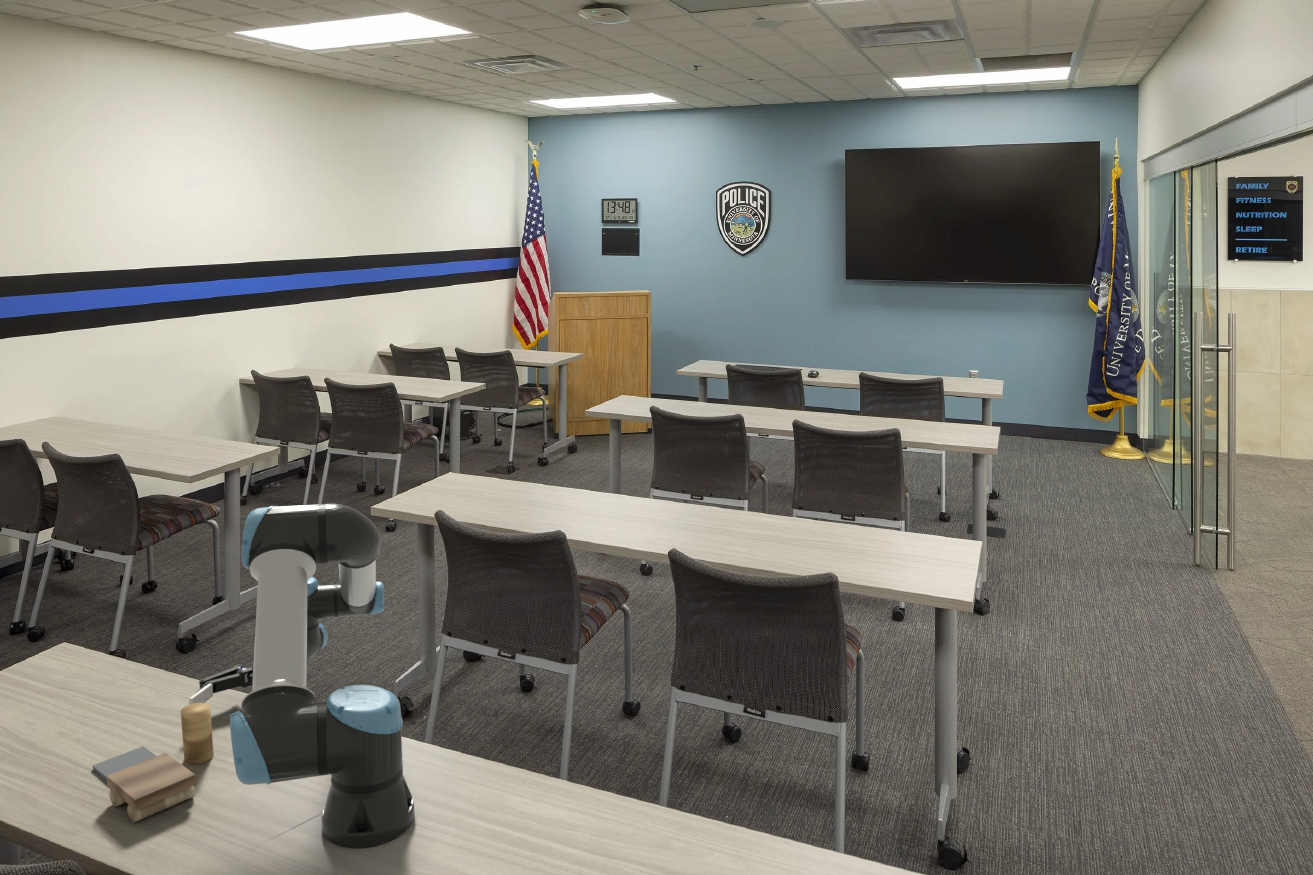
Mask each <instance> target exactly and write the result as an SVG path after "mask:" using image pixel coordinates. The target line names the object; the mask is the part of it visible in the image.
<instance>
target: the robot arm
mask: <svg viewBox="0 0 1313 875" xmlns="http://www.w3.org/2000/svg"><path fill="white" fill-rule="evenodd" d="M243 526H244V527H243V531H242V532H243V533H242V545H241V562H242V565H243V567H244V568H245V569H248V570H249V572H250V575H251V577H252V578H254V579H255V581H257V594H256V595H257V596H256V613H255V616H256V617H255V632H254V634H255V635H254V650H253V651H254V652H253V665H252V666H249V667H248V668H247V667H246V668H245V667H244V666H243V663H238V664H236V665H234V666H232V667H231V668H228V669H226V670H225V669H224V670H223V671H220V672H217V673H215V674H213V675H212V674H211V675H210V676H206V677H203V678H202V679H199V681H198V684H199V689H197V690H196V691H195V693H194V694H193V695H191V696H190V697H189V698H188V701H189V702H188V705H190V704H194V703H207V702H208V701H209V700H210V699H211V698H212V697H214V694H216V693H220V692H224V691H228V690H231V689H234V688H239V687H242V688H246V687H250V686H252V687H251V688H252V689H251V691H250V692H249V693H247V694H246V695H245V696H244V698H242V701H241V710H237V711H235V712H233V713H231V714H230V716H229V717H230V719H229V728H230V729H229V730H230V739H231V740H230V742H231V747H232V748H231V749H232V756H233V763H234V768H235V769H234V770H235V773H236V777H237V780H238V781H239V782H241V784H243V785H246V786H251V785H252V786H253V785H262V784H266V785H271V784H273V783H281V782H286V781H294V780H300V779H307V778H315V777H322V776H330V780H331V781H330V788H329V791H328V795H327V797H326V798H327V799H326V801H325V806H324V807H323V810H322V813H321V814H322V815H321V826H322V827H321V828H322V833H323V835H324V837H325V838H326V839H327V840H328V841H329V842H332V843H333V844H335V845H337V846H341V847H345V848H368V847H374V845H375V846H378V844H379V845H382V844H384V843H383V842H385V843H387V842H386V841H388V842H390V841H392V840H394V839H396V838H398V837H399V836H401V835H402V834H403V832H404V831H405V830H406V829H407V828H408V827H409V826H411V825H412V824H413V822H414V819H415V802H414V799H413V798H414V797H413V794H412V793H411V790H410V788H409V786H408V783H407V781H406V778H405V776H404V773H403V772H404V770H403V769H404V768H403V767H404V765H403V742H402V739H403V738H402V728H403V723H404V721H403V717H402V712H401V711H402V710H401V704H400V700H399V698H398V697H397V696H396V695H395V694H394V693H393V692H391V691H390V690H387V689H386V688H385V689H384V688H383V687H380V686H377V685H372V684H371V685H370V684H351V685H346V686H343V687H342V688H337V689H335V690H333V691H332V692H331V693H330V694H329V696H328V698H327V700H326V701H324V702H316V701H317V700H316V694H315V693H314V692H313V690H310V689H309V687H307V677H308V676H307V675H308V674H307V669H308V668H307V664H308V663H307V662H309V661H310V660H311V659H313V658H314V657H316V656H317V655H318V654H319V653H320V652H321V650H322V649H324V647H326V645H327V642H328V638H329V636H328V632H327V630H326V629H325V626H324V625H323V624H322V623H320V619H333V618H343V617H358V616H364V615H365V616H371V615H374V614H375V615H376V614H381V613H382V612H384V610H385V592H384V591H385V587H384V583H383V582H382V581H380V580H379V581H376V580H377V578H376V577H377V576H376V575H377V574H376V571H377V570H376V569H377V568H376V566H377V565H376V564H377V562H376V560H377V559H378V558H379V555H380V553H381V549H382V541H381V540H382V539H381V535H380V532H379V530H378V528H377V527H376V525H375V524H374V523H373V521H372V520H371V519H370V518H369V517H367V515H365V514H364V513H362V512H360V511H359V510H357V509H355V508H353V507H351V506H347V505H344V504H342V503H341V504H339V503H334V502H332V503H322V504H321V503H319V504H318V503H317V504H302V505H300V504H299V505H284V506H281V505H279V506H278V505H270V506H267V507H258V508H255V509H253V510H251V511H250V512H249V513H248V515H247V517H246V520H245V522H244V525H243ZM333 563H335V564H336V563H338V572H339V574H338V576H339V584H338V583H337V584H336V583H335V584H324V585H323V584H322V585H319V583H318V579H317V578H315V577H314V575H315V573H316V571H317V565H323V564H333ZM245 676H246V677H245ZM246 679H247V681H246ZM412 821H413V822H412ZM411 823H412V824H411ZM410 824H411V825H410ZM409 828H410V827H409ZM409 828H408V829H409ZM408 829H407V830H408ZM407 830H406V831H407ZM406 831H405V832H406ZM405 832H404V833H405ZM401 833H402V834H401ZM400 834H401V835H400ZM398 835H399V836H398ZM397 836H398V837H397ZM395 837H396V838H395ZM393 838H394V839H393ZM391 839H392V840H391ZM389 840H390V841H389ZM381 843H382V844H381Z"/></svg>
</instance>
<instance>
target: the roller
mask: <svg viewBox="0 0 1313 875" xmlns="http://www.w3.org/2000/svg"><path fill="white" fill-rule="evenodd" d="M211 712H212V711H211V705H210V704H209V703H207V702H205V703H194V704H190V705H189V704H188V705H185V706H184V707H183V708H182V709H181V710H180V720H181V721H180V722H181V733H182V747H183V748H182V749H183V759H184V763H186V764H187V765H200V764H204V763H206V762H208V761H210V760H212V759H213V757H214V743H213V742H214V741H213V728H212V727H213V726H212V716H211V715H212V714H211Z"/></svg>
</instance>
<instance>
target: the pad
mask: <svg viewBox="0 0 1313 875" xmlns="http://www.w3.org/2000/svg"><path fill="white" fill-rule="evenodd" d="M156 756H157V755H156V754H154V752H152V751H151V750H149V749H148V748H146V747H145V746H144V745H142V746H140V747H137V748H135V749H132V750H129V751H126V752H125V753H121V754H119V755H116V756H114V757H111V758H108V759H105V760H103V761H101V762H97V763H95V764H93V765H92V770H93V771H94V772H96V773H97V774H98V775H99V776H100V777H101V778H102V779H103V780H105V781H106V782H107V777H106V776H107V775H110V774H112V773H115V772H118V771H120V770H123V769H125V768H128V767H130V766H133V765H135V764H138V763H141V762H143V761H146V760H148V759H151V758H153V757H156Z"/></svg>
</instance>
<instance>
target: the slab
mask: <svg viewBox="0 0 1313 875" xmlns="http://www.w3.org/2000/svg"><path fill="white" fill-rule="evenodd" d="M106 777H107V781H106V786H107V787H108V788H109V789H110V790H109V794H108V795H109V800H110V803H111V804H112V806H113V807H115V808H117V807H118V806H121V805H124V804H127V808H126V810H127V811H126V812H127V816H128V818H129V820H130V821H131V823H133V824H134V823H136V822H139V821H141V820H144V819H146V818H148V817H151V816H153V815H154V814H157V813H159V812H161V811H162V812H163V811H164V810H167V809H169V808H171V807H173V806H175V805H178V804H180V803H183V802H184V801H187V800H189V799H192V798H193V797H195V795H196V790H195V789H196V788H195V786H196V785H197V782H196V774H195V773H194V772H192V771H191V770H189V768H187V767H186V766H184V765H183V764H182V763H180V762H179V761H178V760H176V758H173V757H172V756H171V755H169V754H168V753H167V752H163V753H161V754H159V755H156V757H153V758H151V759H148V760H146V761H143V762H141V763H138V764H135V765H133V766H130V767H128V768H125V769H123V770H120V771H118V772H115V773H112V774H110V775H107V776H106Z"/></svg>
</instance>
